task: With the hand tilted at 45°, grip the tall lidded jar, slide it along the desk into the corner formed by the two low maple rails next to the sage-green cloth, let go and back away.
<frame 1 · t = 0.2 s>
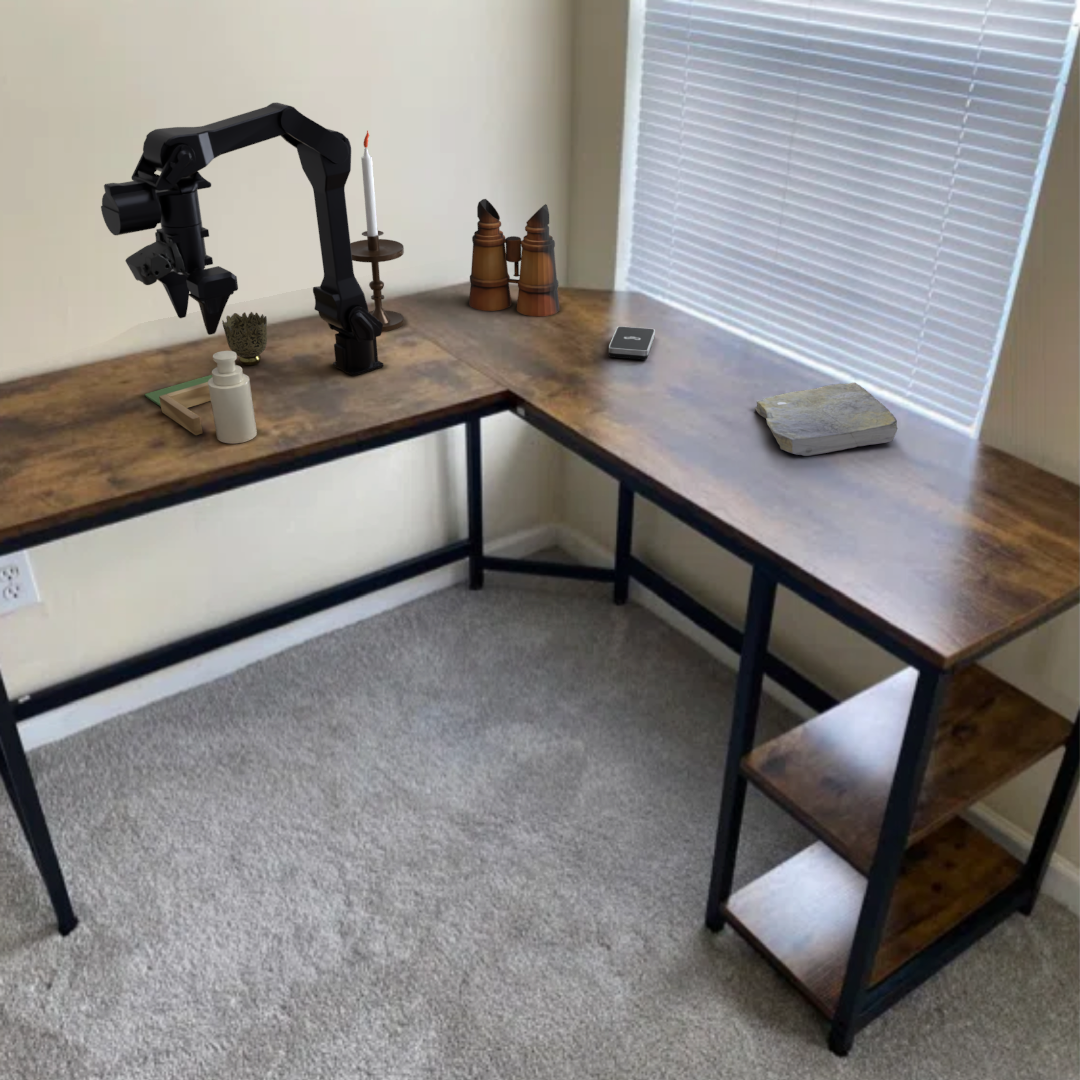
hand: (196, 325, 170), 15 cm above the table, tool pointing down, fingers open, 9 cm apart
green cloth: (187, 391, 185), on the table
cup: (250, 363, 195), on the table
external hard drive: (631, 349, 201), on the table
corner rails: (216, 410, 178), on the table
lidded jar: (237, 435, 171), on the table
candlestick: (379, 324, 212), on the table
binoculars: (514, 307, 220), on the table
fossil: (818, 429, 173), on the table
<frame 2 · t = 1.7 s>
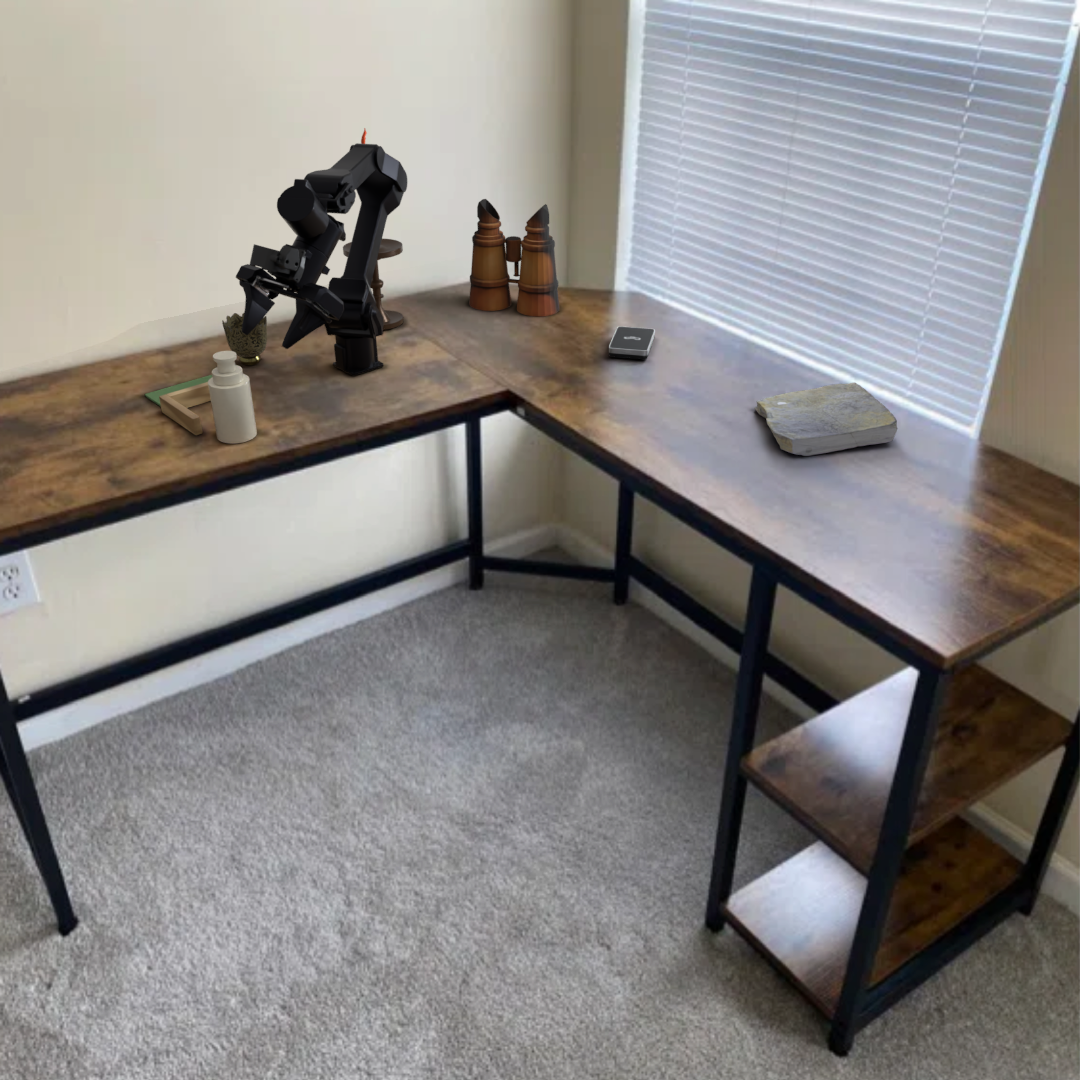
hand: (264, 340, 169), 13 cm above the table, tool tilted 45°, fingers open, 9 cm apart
candlestick: (379, 323, 212), on the table, touching arm
everything else where it was.
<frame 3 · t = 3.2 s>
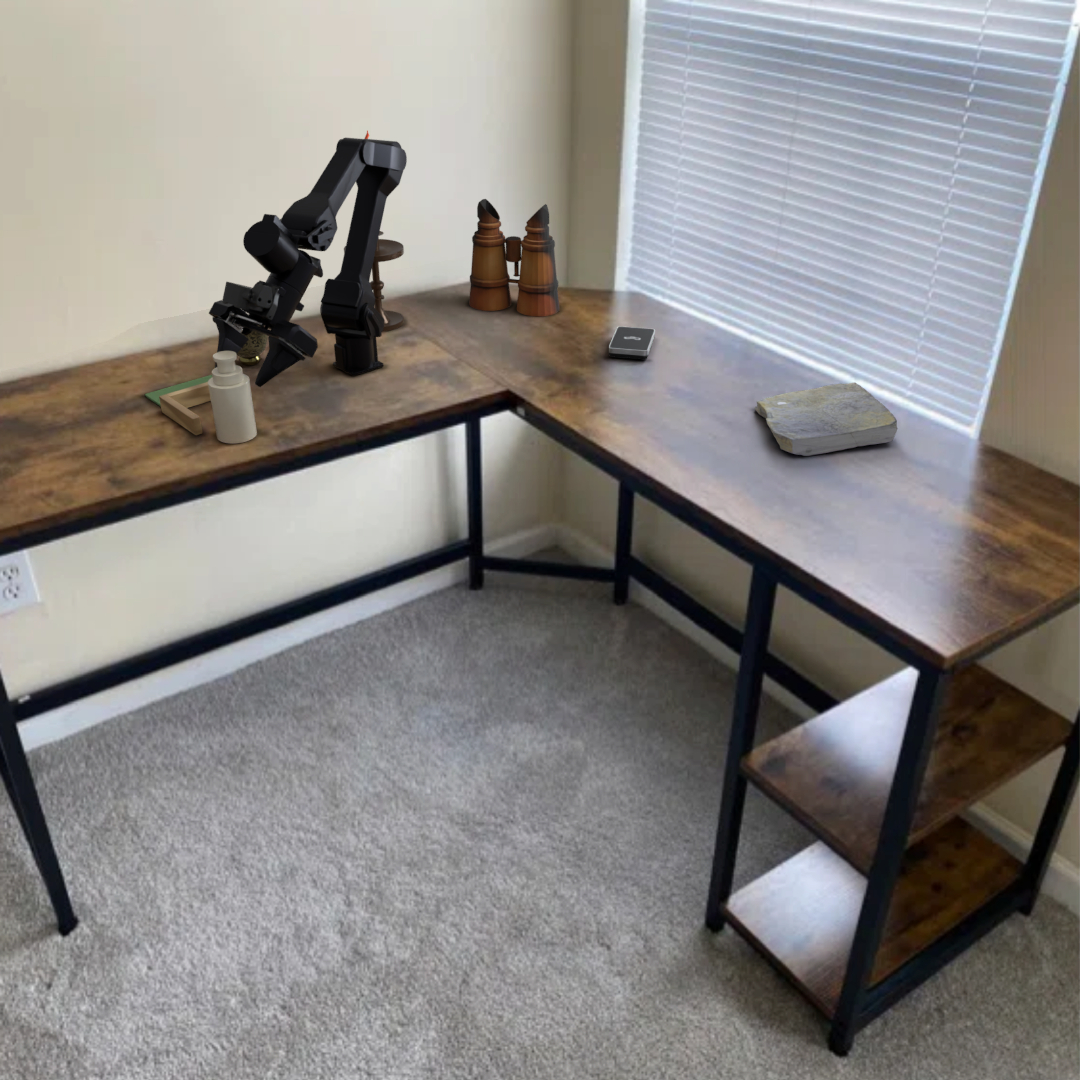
hand: (237, 378, 167), 9 cm above the table, tool tilted 45°, fingers open, 9 cm apart
candlestick: (379, 324, 212), on the table
everything else where it was.
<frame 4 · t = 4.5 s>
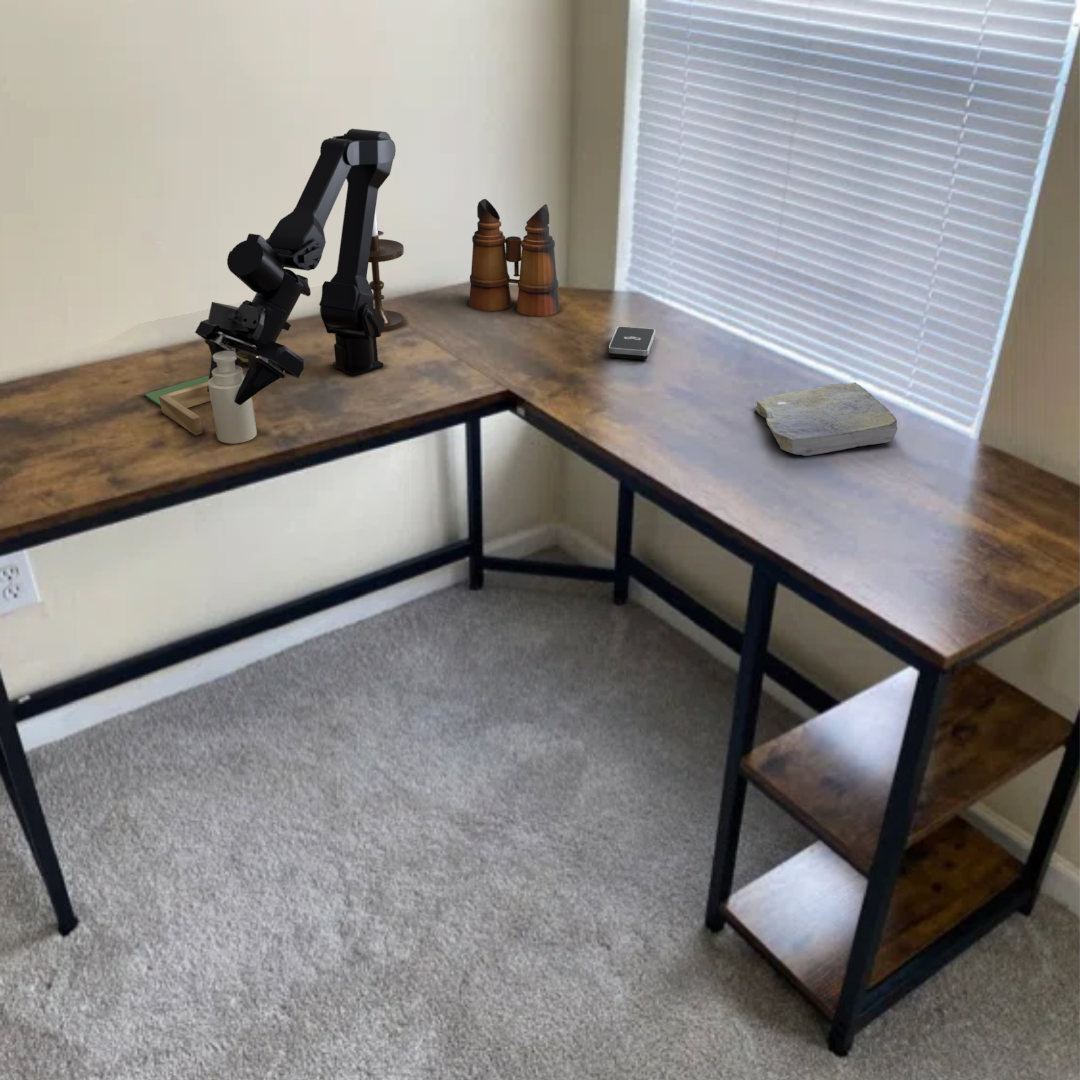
hand: (223, 398, 167), 7 cm above the table, tool tilted 45°, fingers closed on lidded jar, 6 cm apart
lidded jar: (237, 435, 171), on the table, touching gripper
everything else where it was.
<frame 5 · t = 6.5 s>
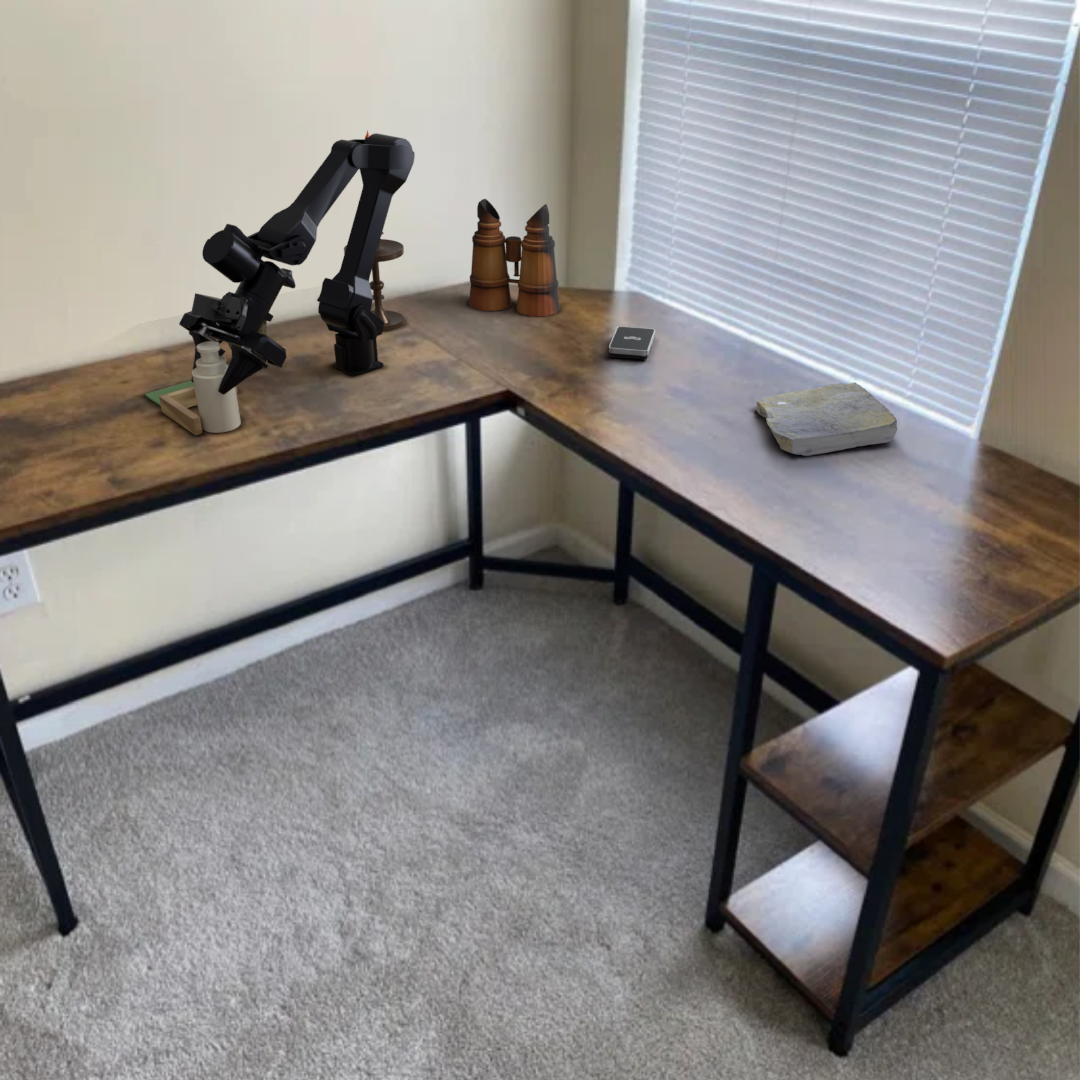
hand: (207, 388, 170), 7 cm above the table, tool tilted 45°, fingers closed on lidded jar, 6 cm apart
lidded jar: (221, 424, 174), on the table, touching gripper
everything else where it was.
when the fingers open (7 cm above the table, at t = 8.3 s): lidded jar stays where it is, on the table.
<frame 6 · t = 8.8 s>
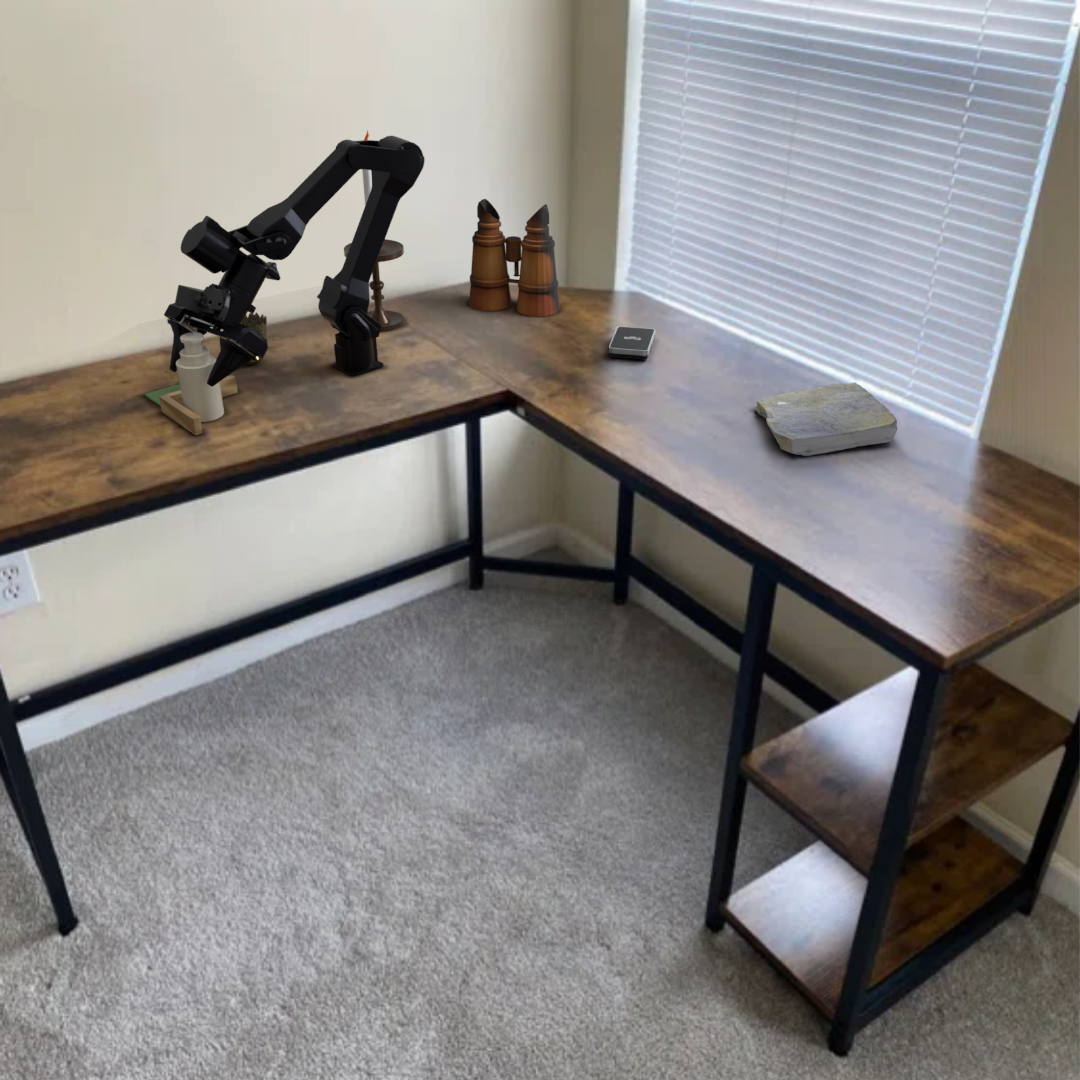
hand: (190, 377, 173), 7 cm above the table, tool tilted 45°, fingers open, 9 cm apart
lidded jar: (204, 414, 177), on the table
everything else where it was.
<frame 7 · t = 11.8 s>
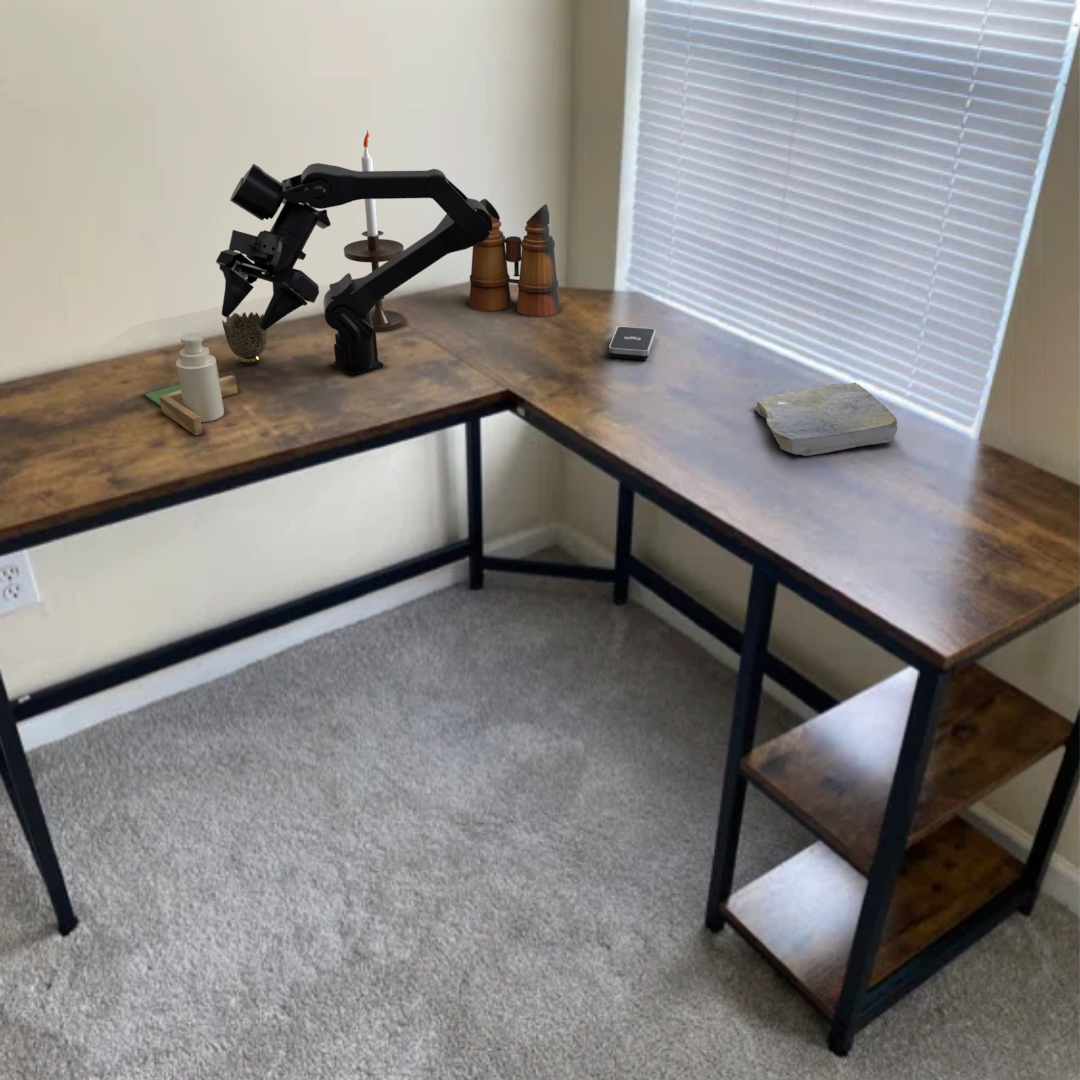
hand: (242, 322, 177), 12 cm above the table, tool tilted 45°, fingers open, 9 cm apart
nothing on the table moved.
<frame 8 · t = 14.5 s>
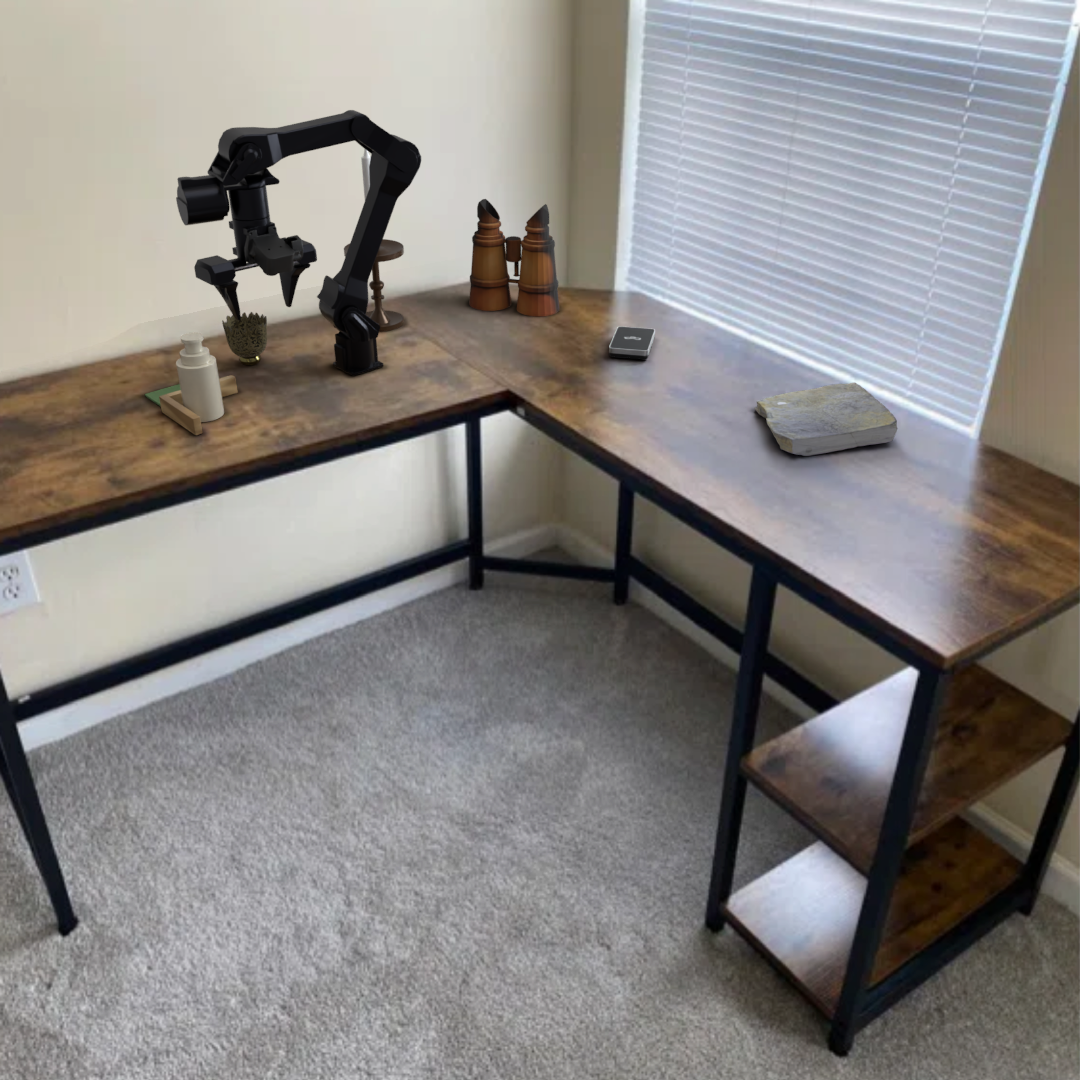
hand: (263, 313, 181), 12 cm above the table, tool pointing down, fingers open, 9 cm apart
nothing on the table moved.
at the end: lidded jar 0.3 cm from the target spot, on the table; lidded jar tilted 0°; the gripper is holding nothing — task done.
